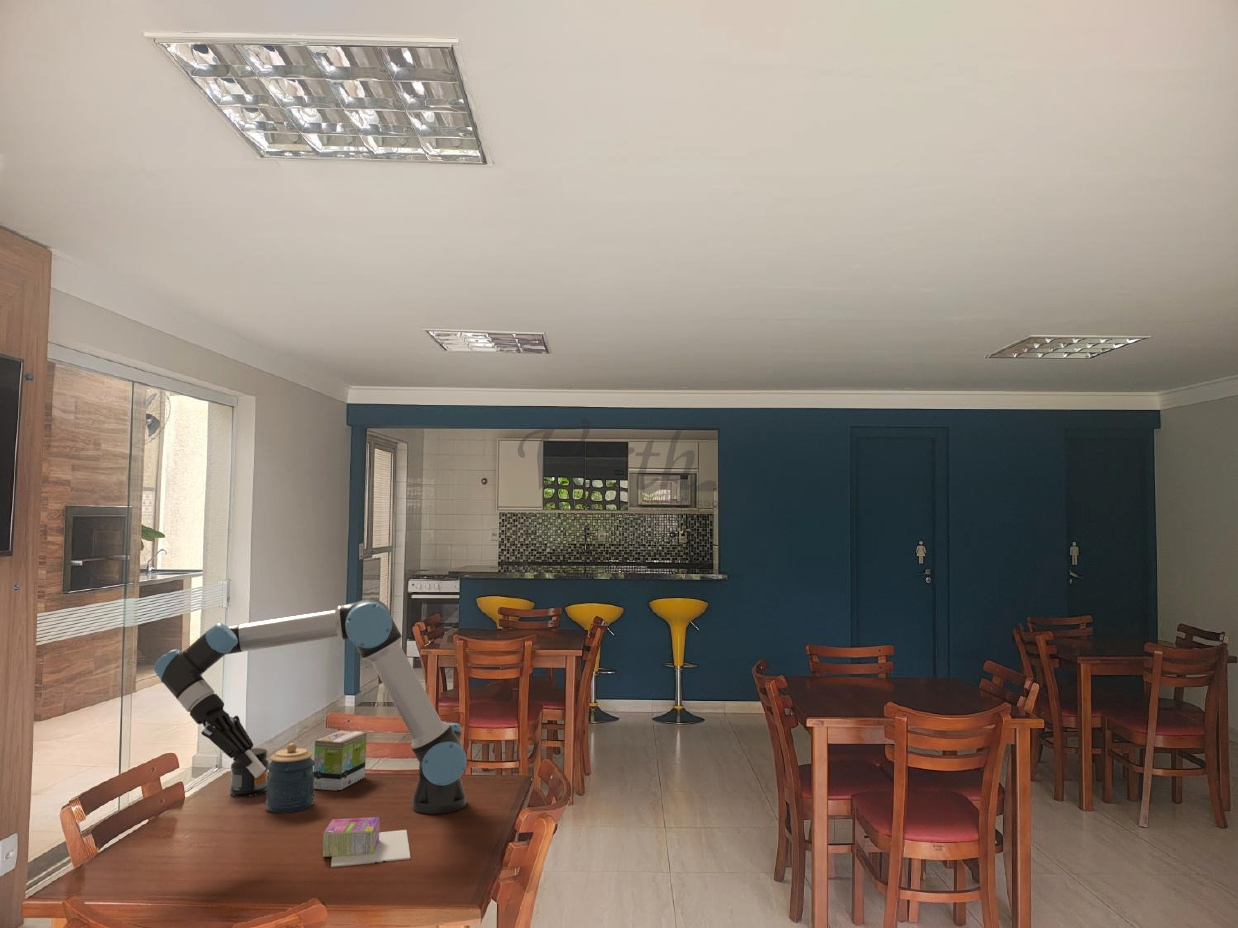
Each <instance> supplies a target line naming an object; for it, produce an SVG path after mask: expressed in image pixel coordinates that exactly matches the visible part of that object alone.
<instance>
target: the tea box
mask: <svg viewBox="0 0 1238 928" xmlns="http://www.w3.org/2000/svg"><path fill="white" fill-rule="evenodd" d="M367 737H368V736H367V731H355V730H354V731H353V730H352V731H351V730H338V731H336V732H333V733H330V734H329V735H326V736H323V737H321V738H318V739H316V740H315V741H314V757H313V760H314V761H315V764H314V766H313V772H314V773H315V776H314V790H324V791H326V790H327V791H337V790H341V791H342V790H343V789H346V788H347V787H349V786H351V785H353V784H355V783H357V782H359V781H361V780H363V779H364V778H365V776H366V762H367V761H366V754H367ZM362 778H363V779H362ZM360 779H361V780H360ZM358 780H359V781H358Z"/></svg>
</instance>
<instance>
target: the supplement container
mask: <svg viewBox="0 0 1238 928" xmlns="http://www.w3.org/2000/svg"><path fill="white" fill-rule="evenodd" d="M251 751H252V752H253V753H254V755H255V756H256V757H257V758H258V760H259V761H260V762H261V763H262V764H263V766H264V767H265V768H266V770H265V771H264V772H263V773H262V774H261V775H260V776H259V777H257V778H255V777H254V776H253V775H252V773H251V772H250V771H249V770H248V768H247V767H246V766H245V765H244V764H243V763H242V762H241V760H240V759H239V758H238V759H237V760H233V759H234V758H235V757H233V758H232V761H233V762H232V763H231V765H230V789H229V792H230V795H232V796H234V797H238V796H248V797H250V796H249V795H255V794H258V795H261V794H263V793H265V792H267V777H268V774H269V770H268V769H267V765H268V764H269V763H270V761H269V760H268V759H267V758H268V750H267V749H266V748H262V747H260V748H259V747H256V748H255V747H252V748H251ZM260 793H261V794H260ZM255 796H256V795H255Z"/></svg>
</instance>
